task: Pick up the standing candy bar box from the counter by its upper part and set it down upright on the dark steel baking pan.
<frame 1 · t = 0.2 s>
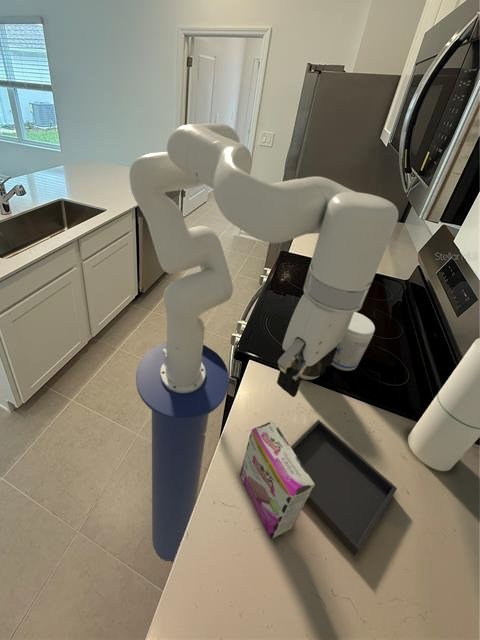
hand: (304, 374, 49), 29 cm above the worktop, tool pointing down, fingers open, 9 cm apart
candy bar box: (263, 501, 58), on the worktop
pan: (331, 480, 62), on the worktop
dark glass dome: (302, 371, 86), on the worktop
supplement tub: (339, 359, 91), on the worktop
container: (429, 450, 69), on the worktop
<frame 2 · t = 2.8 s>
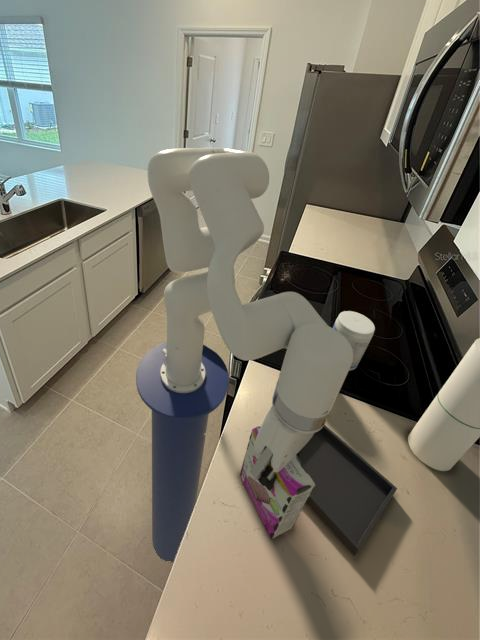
hand: (276, 468, 52), 12 cm above the worktop, tool pointing down, fingers closed on candy bar box, 5 cm apart
candy bar box: (263, 501, 58), on the worktop, touching gripper
everything else where it was.
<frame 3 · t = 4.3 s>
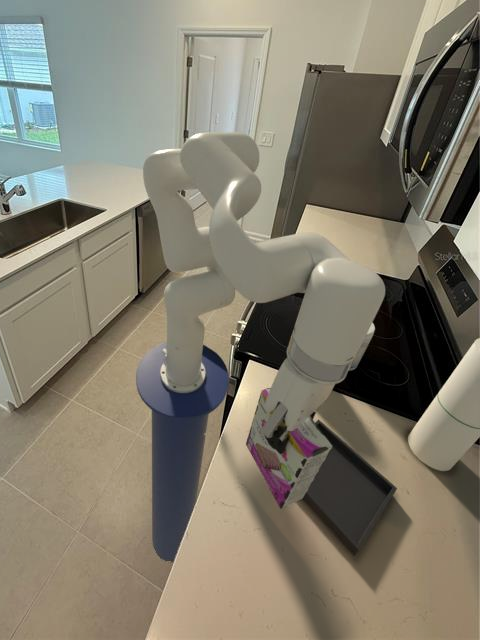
hand: (287, 431, 48), 22 cm above the worktop, tool pointing down, fingers closed on candy bar box, 5 cm apart
candy bar box: (271, 471, 54), point 10 cm above the worktop, touching gripper
everything else where it was.
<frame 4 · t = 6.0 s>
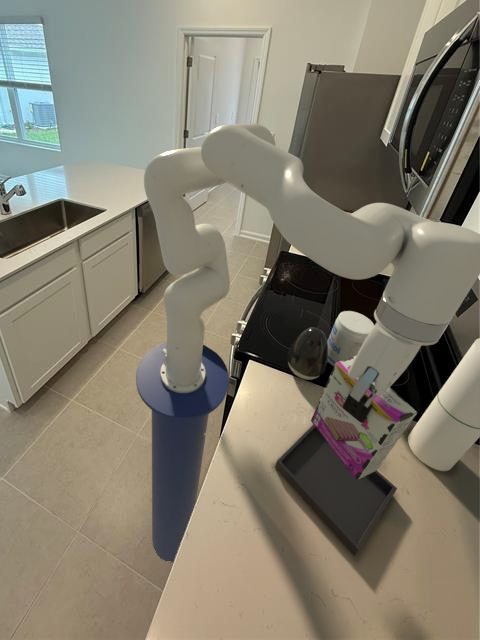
hand: (363, 402, 49), 26 cm above the worktop, tool pointing down, fingers closed on candy bar box, 5 cm apart
candy bar box: (340, 445, 55), point 14 cm above the worktop, touching gripper
everything else where it was.
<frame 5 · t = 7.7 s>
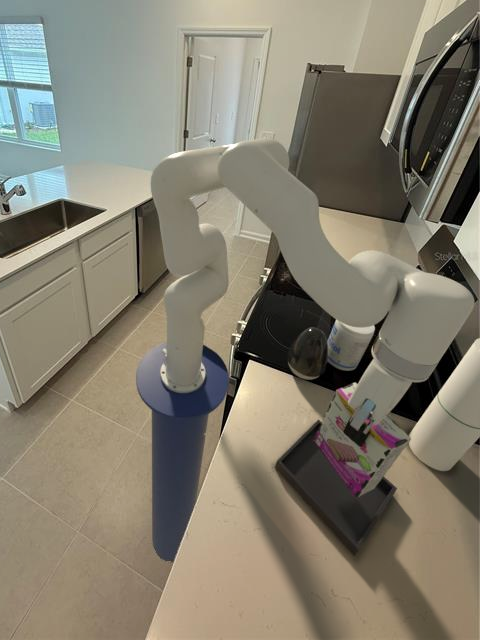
hand: (362, 427, 53), 18 cm above the worktop, tool pointing down, fingers closed on candy bar box, 5 cm apart
candy bar box: (341, 464, 59), point 6 cm above the worktop, touching gripper
everything else where it was.
when the fingers open (13 cm above the worktop, at t = 9.4 s): candy bar box stays where it is, resting on pan.
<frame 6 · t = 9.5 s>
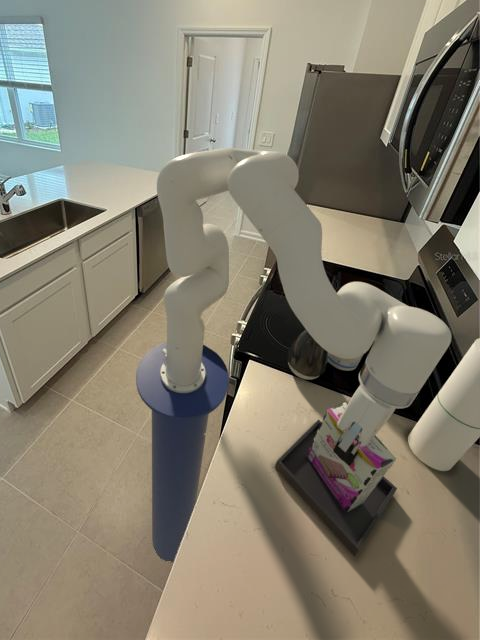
hand: (351, 445, 56), 13 cm above the worktop, tool pointing down, fingers open, 5 cm apart
candy bar box: (332, 479, 62), resting on pan
everything else where it was.
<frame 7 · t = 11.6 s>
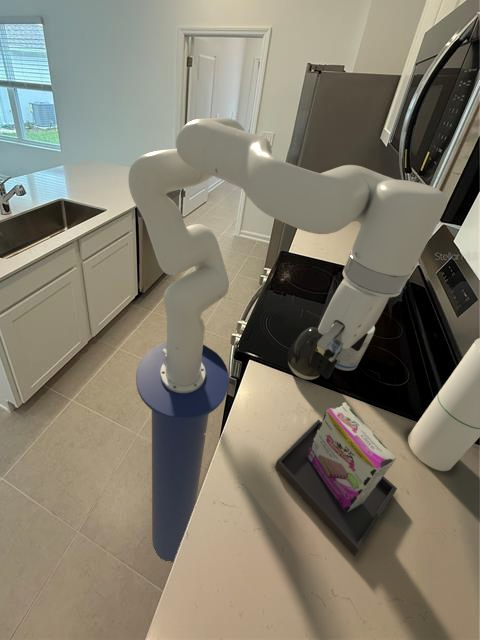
hand: (335, 357, 51), 30 cm above the worktop, tool pointing down, fingers open, 9 cm apart
nothing on the worktop moved.
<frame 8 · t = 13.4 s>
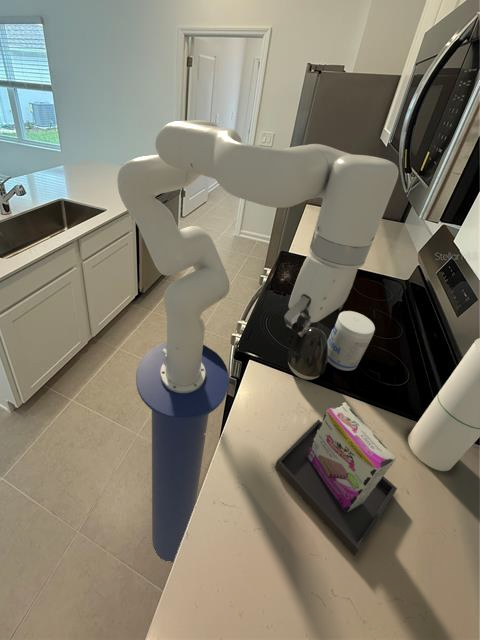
hand: (308, 335, 52), 32 cm above the worktop, tool pointing down, fingers open, 9 cm apart
nothing on the worktop moved.
at the end: candy bar box inside the target area in the pan (0.0 cm from its centre), point 0.4 cm above the pan's base; candy bar box tilted 0°; the gripper is holding nothing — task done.
